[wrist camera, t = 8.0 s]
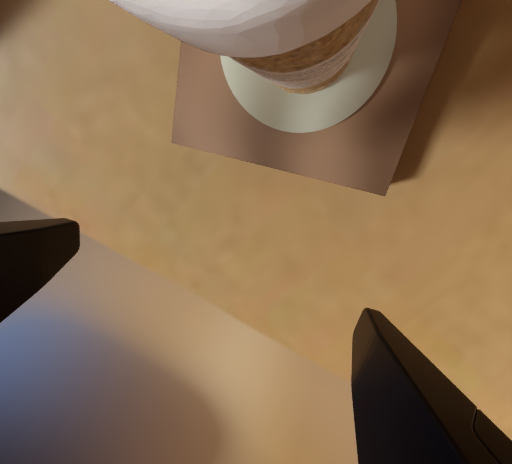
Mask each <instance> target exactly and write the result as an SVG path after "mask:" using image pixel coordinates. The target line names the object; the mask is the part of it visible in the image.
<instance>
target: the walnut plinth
mask: <svg viewBox="0 0 512 464" xmlns="http://www.w3.org/2000/svg"><path fill="white" fill-rule="evenodd" d="M461 1H462V0H380V2H379V4H378V6H377V8H376V10H375V12H374V14H373V16H372V18H371V20H370V22H369V24H368V25H367V27H366V29H365V31H364V33H363V35H362V37H361V39H360V41H359V42H358V44H357V46H356V47H355V49H354V53H353V55H352V58H351V60H350V62H349V64H348V66H347V67H346V69H345V70H344V72H343V73H342V74H341V75H340V76H339V77H338V79H336V80H335V81H334V82H333V83H331V84H330V85H329V86H328V87H326V88H324V89H322V90H320V91H317V92H314V93H310V94H298V93H289V92H287V91H285V90H283V89H281V88H280V87H277V86H276V85H275V84H274V83H272V82H271V81H269V80H267V79H265V78H263V77H262V76H260V75H258V74H257V73H255V72H253V71H252V70H250V69H248V68H246V67H245V66H243V65H241V64H239V63H238V62H236V61H234V60H233V59H231V58H230V57H229V56H221V55H217V54H213V53H210V52H206V51H203V50H201V49H198V48H196V47H193V46H191V45H189V44H187V43H185V42H183V41H181V47H180V57H179V68H178V79H177V89H176V100H175V110H174V121H173V132H172V142H171V143H175V144H179V145H183V146H187V147H191V148H195V149H199V150H203V151H207V152H211V153H215V154H219V155H223V156H227V157H231V158H235V159H239V160H242V161H246V162H250V163H254V164H258V165H262V166H266V167H270V168H274V169H278V170H282V171H286V172H290V173H294V174H298V175H302V176H306V177H310V178H314V179H318V180H322V181H326V182H330V183H334V184H338V185H342V186H346V187H350V188H354V189H358V190H362V191H366V192H370V193H374V194H378V195H382V196H385V195H386V193H387V190H388V188H389V185H390V182H391V180H392V177H393V175H394V172H395V170H396V167H397V164H398V162H399V159H400V157H401V154H402V152H403V149H404V147H405V144H406V141H407V139H408V136H409V134H410V131H411V129H412V126H413V124H414V121H415V118H416V116H417V113H418V111H419V108H420V106H421V103H422V100H423V98H424V95H425V93H426V90H427V88H428V85H429V83H430V80H431V77H432V75H433V72H434V70H435V67H436V65H437V62H438V60H439V57H440V54H441V52H442V49H443V47H444V44H445V42H446V39H447V37H448V34H449V31H450V29H451V26H452V24H453V21H454V19H455V16H456V13H457V11H458V8H459V6H460V3H461Z"/></svg>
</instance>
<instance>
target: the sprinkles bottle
mask: <svg viewBox="0 0 512 464" xmlns="http://www.w3.org/2000/svg"><path fill="white" fill-rule="evenodd" d="M110 1H111V2H113V3H114V4H116V5H118V6H119V7H121V8H123V9H124V10H126V11H128V12H129V13H131V14H133V15H134V16H136V17H138V18H139V19H141V20H143V21H144V22H146V23H147V24H149V25H151V26H153V27H155V28H157V29H159V30H161V31H163V32H165V33H167V34H169V35H171V36H173V37H175V38H177V39H179V40H181V41H183V42H185V43H187V44H189V45H191V46H193V47H196V48H198V49H201V50H203V51H206V52H210V53H213V54H217V55H221V56H229V57H230V58H231V59H233V60H234V61H236V62H238V63H239V64H241V65H243V66H245V67H246V68H248V69H250V70H252V71H253V72H255V73H257V74H258V75H260V76H262V77H263V78H265V79H267V80H269V81H271V82H272V83H274V84H275V85H276V86H277V87H280V88H281V89H283V90H285V91H287V92H289V93H298V94H310V93H314V92H317V91H320V90H322V89H324V88H326V87H328V86H329V85H330V84H331V83H333V82H334V81H335V80H336V79H338V77H339V76H340V75H341V74H342V73H343V72H344V70H345V69H346V67H347V66H348V64H349V62H350V60H351V58H352V55H353V53H354V49H355V47H356V46H357V44H358V42H359V41H360V39H361V37H362V35H363V33H364V31H365V29H366V27H367V25H368V24H369V22H370V20H371V18H372V16H373V14H374V12H375V10H376V8H377V6H378V4H379V2H380V0H110Z"/></svg>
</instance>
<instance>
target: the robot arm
mask: <svg viewBox="0 0 512 464" xmlns="http://www.w3.org/2000/svg"><path fill="white" fill-rule="evenodd" d="M79 247H80V228H79V224H78V223H77V222H76V221H73V220H70V219H66V218H59V219H43V220H28V221H10V222H0V322H2V321H3V320H4V319H5V318H7V317H8V316H9V315H10V314H11V313H13V312H14V311H15V310H16V309H17V308H19V307H20V306H21V305H22V304H23V303H24V302H26V301H27V300H28V299H29V298H31V297H32V296H33V295H34V294H35V293H37V292H38V291H39V290H40V289H41V288H42V287H43V286H44V285H45V284H46V283H47V282H49V281H50V280H51V279H52V278H53V277H54V276H55V274H56V273H57V272H58V271H59V270H60V269H61V268H62V267H63V266H64V265H65V264H66V263H67V262H68V261H69V260H70V259H71V258H72V257H73V256H74V255H75V254H76V253H77V252H78V250H79ZM351 387H352V400H353V411H354V422H355V433H356V443H357V454H358V464H512V440H510V439H509V438H508V437H507V436H506V435H505V434H504V433H503V432H502V431H501V430H500V429H499V428H498V427H497V426H496V425H495V424H494V423H493V422H492V421H491V420H490V419H489V418H488V417H487V416H486V415H485V414H484V413H483V412H482V411H481V410H479V409H477V407H476V406H475V405H474V404H473V403H472V402H471V401H470V400H469V399H468V398H467V397H466V396H465V395H464V394H463V393H462V392H461V391H460V390H459V389H458V388H457V387H456V386H455V385H454V384H453V383H452V382H451V381H450V380H449V379H448V378H447V377H446V376H445V375H444V374H443V373H442V372H441V371H440V370H439V369H438V368H437V367H436V366H435V365H434V364H433V363H432V362H431V361H430V360H429V359H428V358H427V357H426V356H425V355H424V354H423V353H422V352H421V351H420V350H419V349H417V348H416V347H415V346H414V345H413V344H412V343H411V342H410V341H409V340H408V339H407V338H406V337H405V336H404V335H403V334H402V333H401V332H400V331H399V330H398V329H397V328H396V327H395V326H394V325H393V324H392V323H391V322H390V321H389V320H388V319H387V318H386V317H385V316H384V315H383V314H382V313H381V312H379V311H377V310H374V309H370V308H365V309H364V310H363V311H362V313H361V316H360V318H359V320H358V323H357V325H356V327H355V329H354V333H353V342H352V377H351Z"/></svg>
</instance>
